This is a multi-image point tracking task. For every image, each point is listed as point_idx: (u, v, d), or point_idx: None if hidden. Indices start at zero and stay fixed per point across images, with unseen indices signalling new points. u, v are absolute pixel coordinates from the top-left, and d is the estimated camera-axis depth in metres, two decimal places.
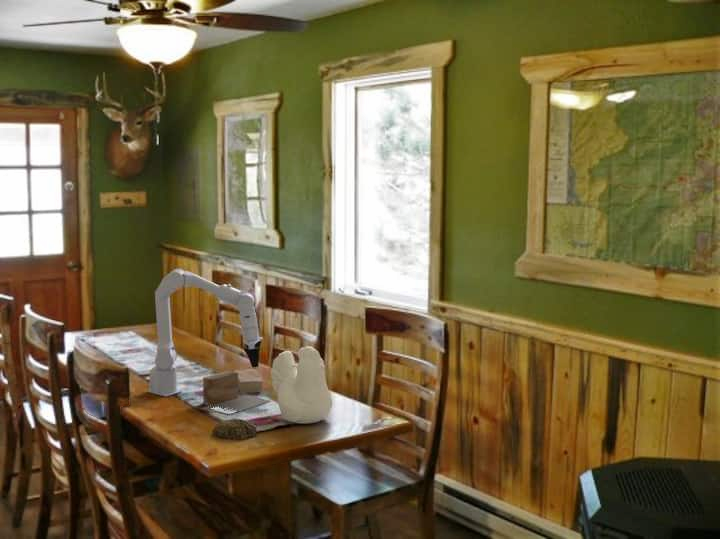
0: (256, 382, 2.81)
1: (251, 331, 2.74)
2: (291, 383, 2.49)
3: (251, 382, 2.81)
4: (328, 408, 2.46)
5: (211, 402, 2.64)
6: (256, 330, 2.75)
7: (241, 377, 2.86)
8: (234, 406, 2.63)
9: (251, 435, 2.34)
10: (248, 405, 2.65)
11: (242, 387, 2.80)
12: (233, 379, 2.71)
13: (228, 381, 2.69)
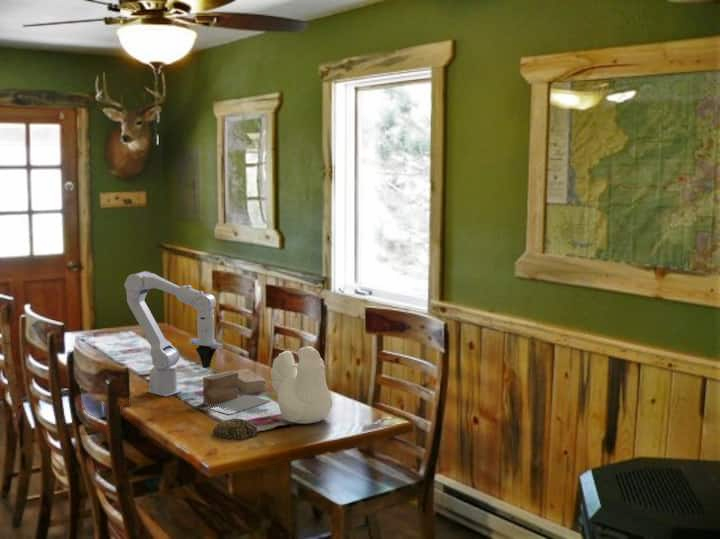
0: (260, 381, 2.82)
1: (212, 332, 2.70)
2: (291, 383, 2.49)
3: (255, 382, 2.81)
4: (328, 408, 2.46)
5: (211, 402, 2.64)
6: None
7: (241, 378, 2.85)
8: (234, 406, 2.63)
9: (251, 435, 2.34)
10: (248, 405, 2.65)
11: (247, 387, 2.79)
12: (233, 379, 2.71)
13: (228, 381, 2.69)
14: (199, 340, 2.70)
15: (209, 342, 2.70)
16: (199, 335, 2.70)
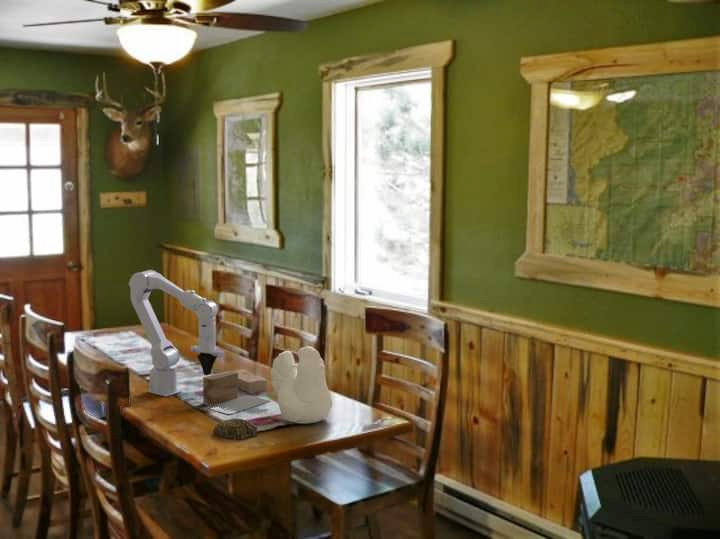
0: (262, 381, 2.83)
1: (214, 340, 2.70)
2: (291, 383, 2.49)
3: (257, 381, 2.82)
4: (328, 408, 2.46)
5: (211, 402, 2.64)
6: None
7: (242, 378, 2.85)
8: (234, 406, 2.63)
9: (251, 435, 2.34)
10: (248, 405, 2.65)
11: (250, 387, 2.80)
12: (233, 379, 2.71)
13: (228, 381, 2.69)
14: (200, 347, 2.70)
15: (210, 349, 2.69)
16: (200, 342, 2.69)
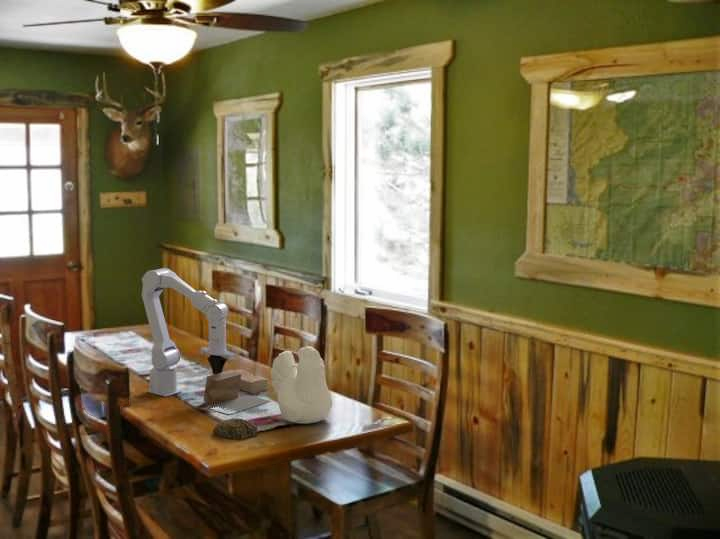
0: (263, 380, 2.83)
1: (224, 342, 2.67)
2: (291, 383, 2.49)
3: (259, 381, 2.82)
4: (328, 408, 2.46)
5: (211, 402, 2.64)
6: None
7: (242, 378, 2.84)
8: (234, 406, 2.63)
9: (251, 435, 2.34)
10: (248, 405, 2.65)
11: (252, 387, 2.80)
12: (236, 380, 2.70)
13: (231, 382, 2.69)
14: (210, 349, 2.67)
15: (221, 352, 2.67)
16: (211, 344, 2.67)
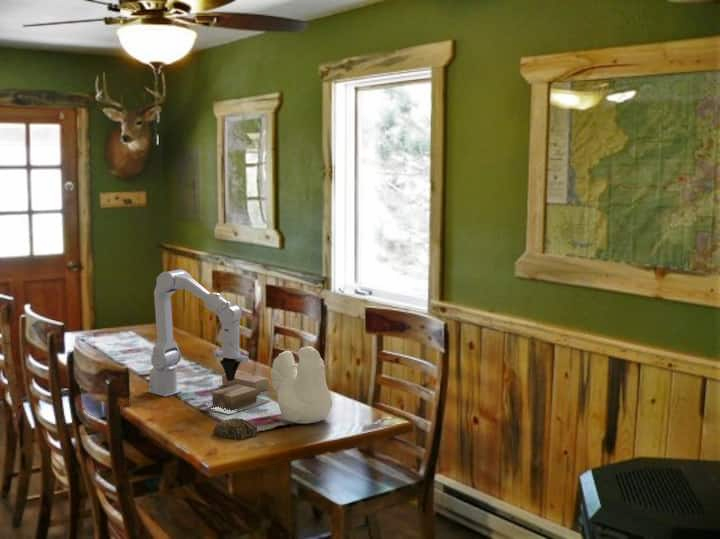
0: (264, 380, 2.84)
1: (237, 345, 2.64)
2: (291, 383, 2.49)
3: (261, 381, 2.83)
4: (328, 408, 2.46)
5: (214, 403, 2.63)
6: None
7: (243, 378, 2.84)
8: None
9: (251, 435, 2.34)
10: (248, 405, 2.65)
11: (255, 387, 2.80)
12: None
13: None
14: (224, 352, 2.63)
15: (234, 355, 2.63)
16: (224, 347, 2.63)
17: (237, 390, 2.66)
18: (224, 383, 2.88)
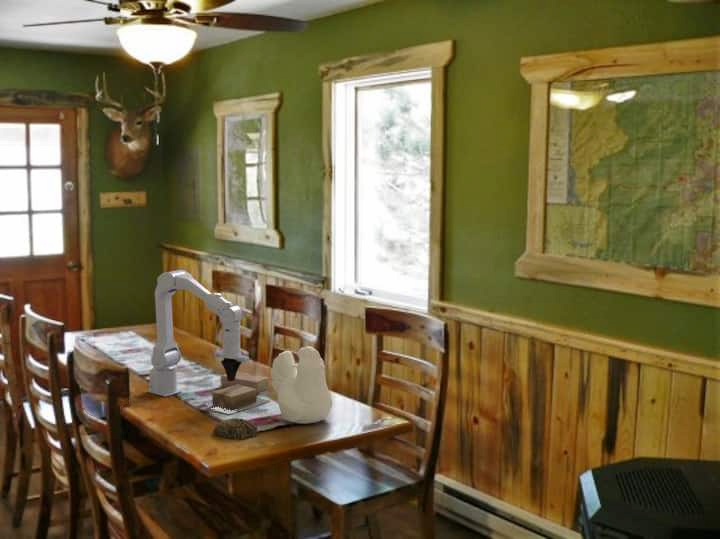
0: (265, 379, 2.85)
1: (238, 345, 2.64)
2: (291, 383, 2.49)
3: (262, 380, 2.83)
4: (328, 408, 2.46)
5: (214, 403, 2.63)
6: None
7: (244, 378, 2.84)
8: None
9: (251, 434, 2.34)
10: (248, 405, 2.65)
11: (258, 387, 2.81)
12: None
13: None
14: (224, 353, 2.63)
15: (235, 355, 2.63)
16: (225, 348, 2.63)
17: (237, 390, 2.66)
18: (223, 384, 2.86)
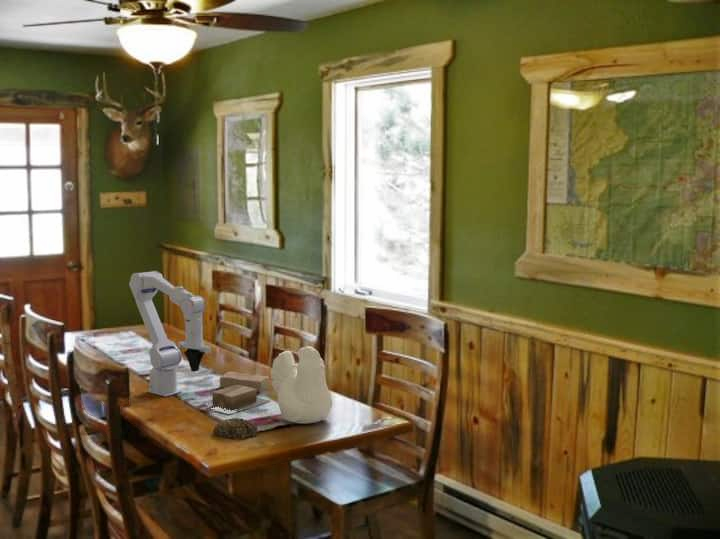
0: (266, 378, 2.86)
1: (200, 335, 2.65)
2: (291, 383, 2.49)
3: (264, 379, 2.84)
4: (328, 408, 2.46)
5: (214, 403, 2.63)
6: None
7: (245, 379, 2.84)
8: None
9: (252, 434, 2.35)
10: (248, 405, 2.65)
11: (261, 386, 2.81)
12: None
13: None
14: (187, 343, 2.64)
15: (197, 345, 2.64)
16: (187, 338, 2.64)
17: (237, 390, 2.66)
18: (223, 385, 2.85)
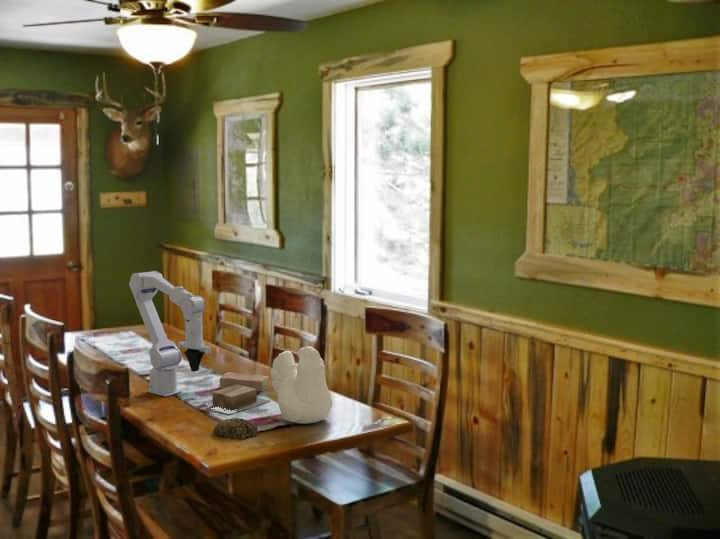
0: (266, 378, 2.87)
1: (200, 335, 2.65)
2: (291, 383, 2.49)
3: (265, 379, 2.85)
4: (328, 408, 2.46)
5: (214, 403, 2.63)
6: None
7: (246, 379, 2.83)
8: None
9: (252, 434, 2.35)
10: (248, 405, 2.65)
11: (263, 386, 2.82)
12: None
13: None
14: (187, 343, 2.64)
15: (197, 345, 2.64)
16: (187, 338, 2.64)
17: (237, 390, 2.66)
18: (223, 386, 2.84)
